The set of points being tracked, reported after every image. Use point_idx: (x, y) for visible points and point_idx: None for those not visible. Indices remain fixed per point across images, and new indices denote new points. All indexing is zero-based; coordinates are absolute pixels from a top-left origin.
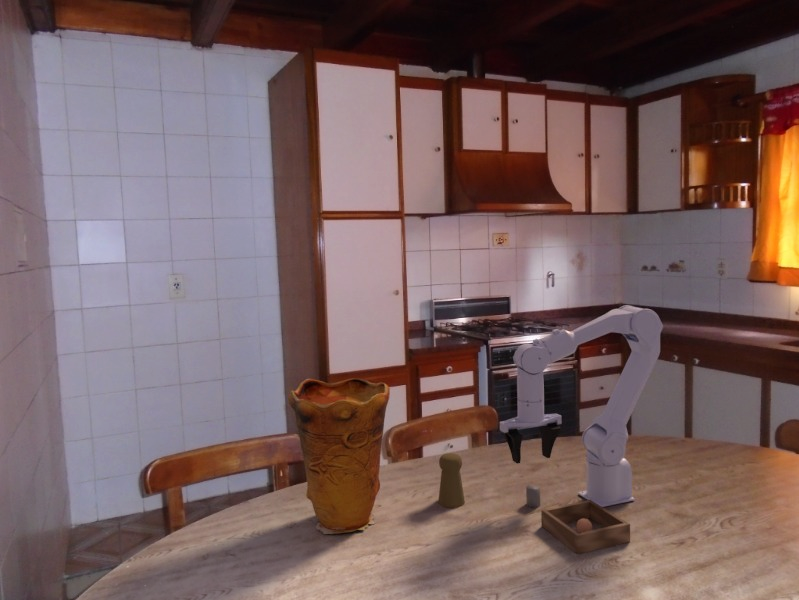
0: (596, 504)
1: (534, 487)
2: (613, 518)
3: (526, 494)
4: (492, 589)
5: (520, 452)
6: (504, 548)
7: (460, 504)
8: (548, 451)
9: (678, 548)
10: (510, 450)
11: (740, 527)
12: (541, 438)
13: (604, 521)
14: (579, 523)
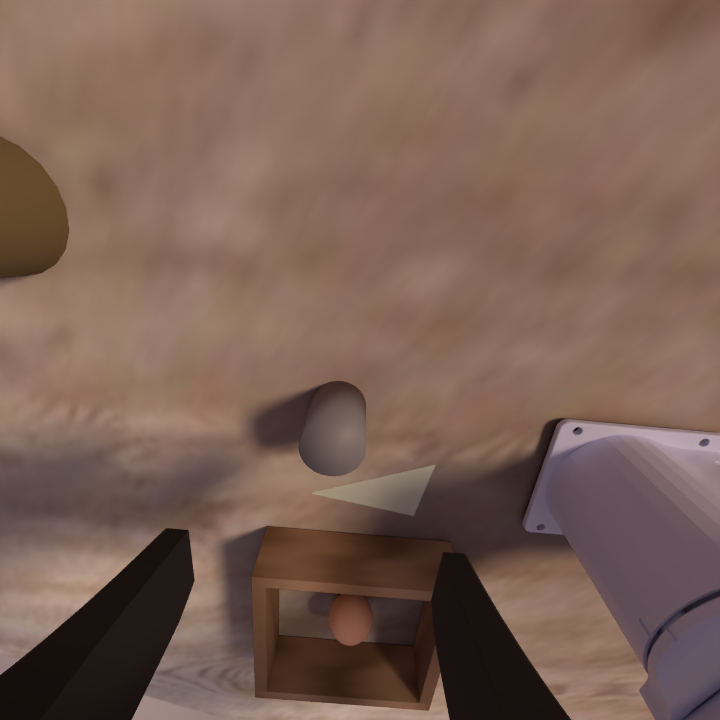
0: None
1: (338, 451)
2: (424, 672)
3: (306, 419)
4: (22, 651)
5: (140, 699)
6: (105, 563)
7: (29, 273)
8: (441, 670)
9: None
10: (91, 602)
11: None
12: (499, 710)
13: (428, 615)
14: (331, 631)
